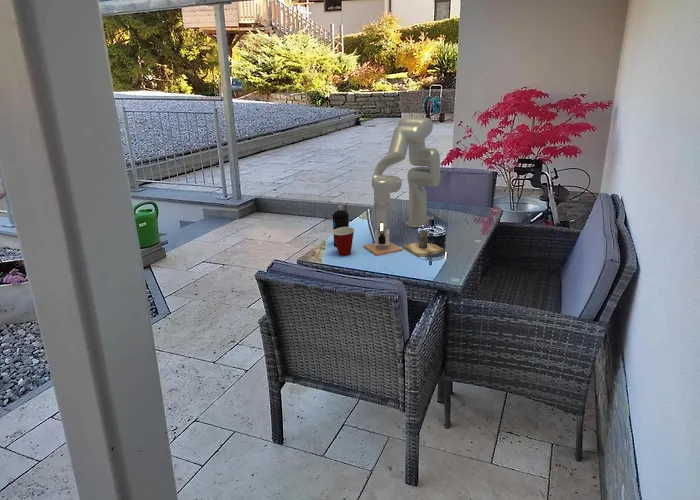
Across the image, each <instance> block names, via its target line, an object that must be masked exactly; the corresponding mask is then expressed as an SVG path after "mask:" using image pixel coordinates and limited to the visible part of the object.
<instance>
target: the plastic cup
mask: <svg viewBox="0 0 700 500" xmlns="http://www.w3.org/2000/svg"><path fill="white" fill-rule="evenodd" d="M354 233H355V227H352V226H351V227H350V226H349V227H341V228H337V229H334V230H333V229H332V231H331V234H332V236H333V239H334V238H335V242H336V246H337V247H336V249H337V253H338V255H339V256H342V257H346V256H350V255H351V253H352V247H353V240H354Z"/></svg>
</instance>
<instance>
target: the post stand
mask: <svg viewBox="0 0 700 500" xmlns="http://www.w3.org/2000/svg"><path fill="white" fill-rule="evenodd" d="M428 232H429V231H428V229H420V230H419V231H418V242H414V243H413V242H412V243H409V244H404V245H402V250H405V251H407V252H408V253H410V254H412V255H414V257H415V256H416V258H422V257H427V256H432V255H436V254H441V253H444V252H445V249H444V248H443V247H440V246H439V245H437V244H434V243H433V242H431V244H430V243H427V242H428V241H429V240H428V237H429V236H428V234H429V233H428ZM432 243H433V244H432Z"/></svg>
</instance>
